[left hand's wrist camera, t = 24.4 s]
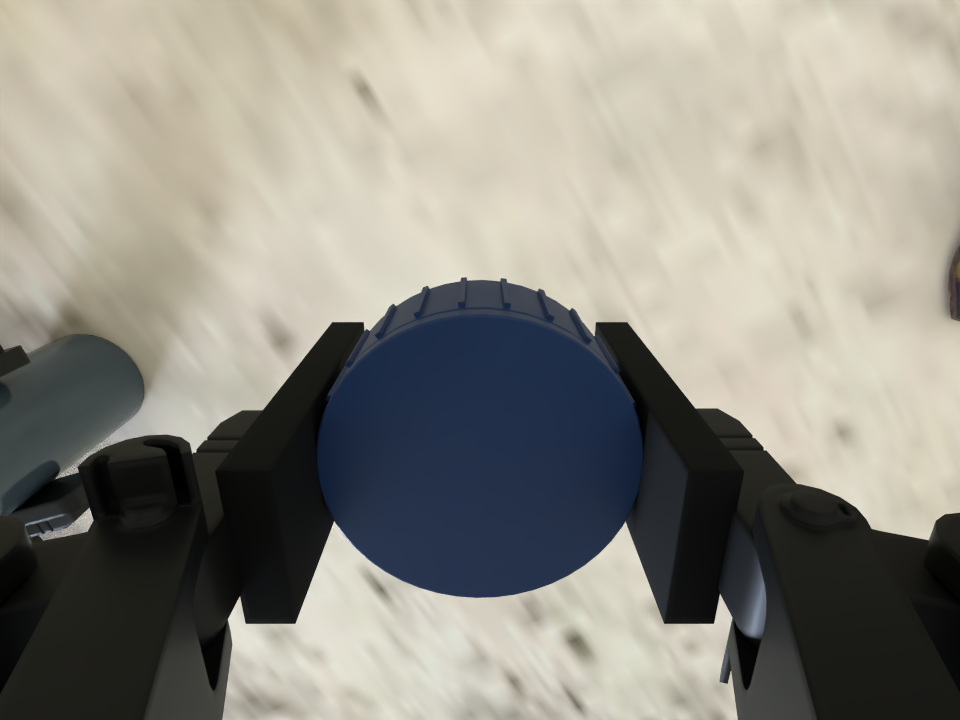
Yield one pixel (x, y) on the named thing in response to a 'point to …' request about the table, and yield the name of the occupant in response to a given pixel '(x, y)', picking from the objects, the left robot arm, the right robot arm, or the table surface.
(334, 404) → the lid
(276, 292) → the table surface
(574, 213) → the table surface
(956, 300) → the figurine
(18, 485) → the bottle
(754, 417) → the table surface
